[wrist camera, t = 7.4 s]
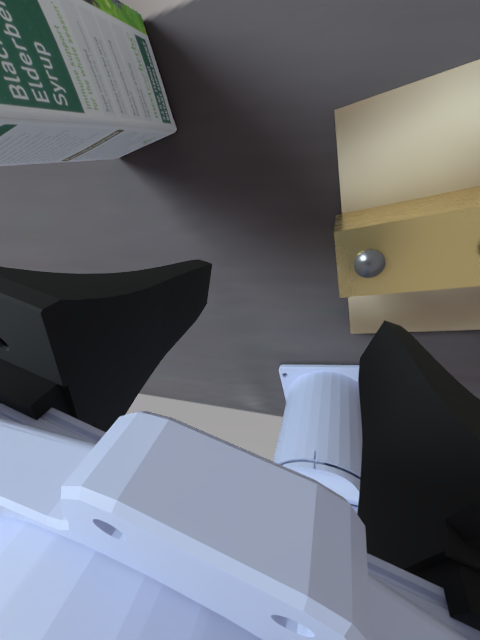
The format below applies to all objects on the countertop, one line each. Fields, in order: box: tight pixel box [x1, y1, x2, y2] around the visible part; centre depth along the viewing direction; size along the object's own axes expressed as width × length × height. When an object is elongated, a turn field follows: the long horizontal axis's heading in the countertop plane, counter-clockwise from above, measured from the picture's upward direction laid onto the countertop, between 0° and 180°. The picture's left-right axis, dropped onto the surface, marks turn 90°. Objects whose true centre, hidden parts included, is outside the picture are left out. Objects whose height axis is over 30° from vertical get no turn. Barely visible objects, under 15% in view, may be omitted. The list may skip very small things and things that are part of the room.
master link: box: [334, 186, 480, 298], centre depth 14 cm, size 4×8×4 cm, turn 103°
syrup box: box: [0, 0, 177, 166], centre depth 12 cm, size 6×6×14 cm
